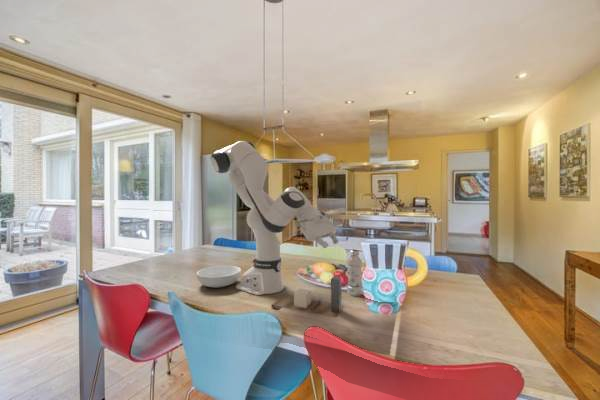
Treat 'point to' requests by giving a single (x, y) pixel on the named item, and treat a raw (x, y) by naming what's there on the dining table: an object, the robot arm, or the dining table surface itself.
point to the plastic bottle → (354, 274)
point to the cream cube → (302, 298)
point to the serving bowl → (218, 276)
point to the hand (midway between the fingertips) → (332, 245)
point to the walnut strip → (317, 302)
